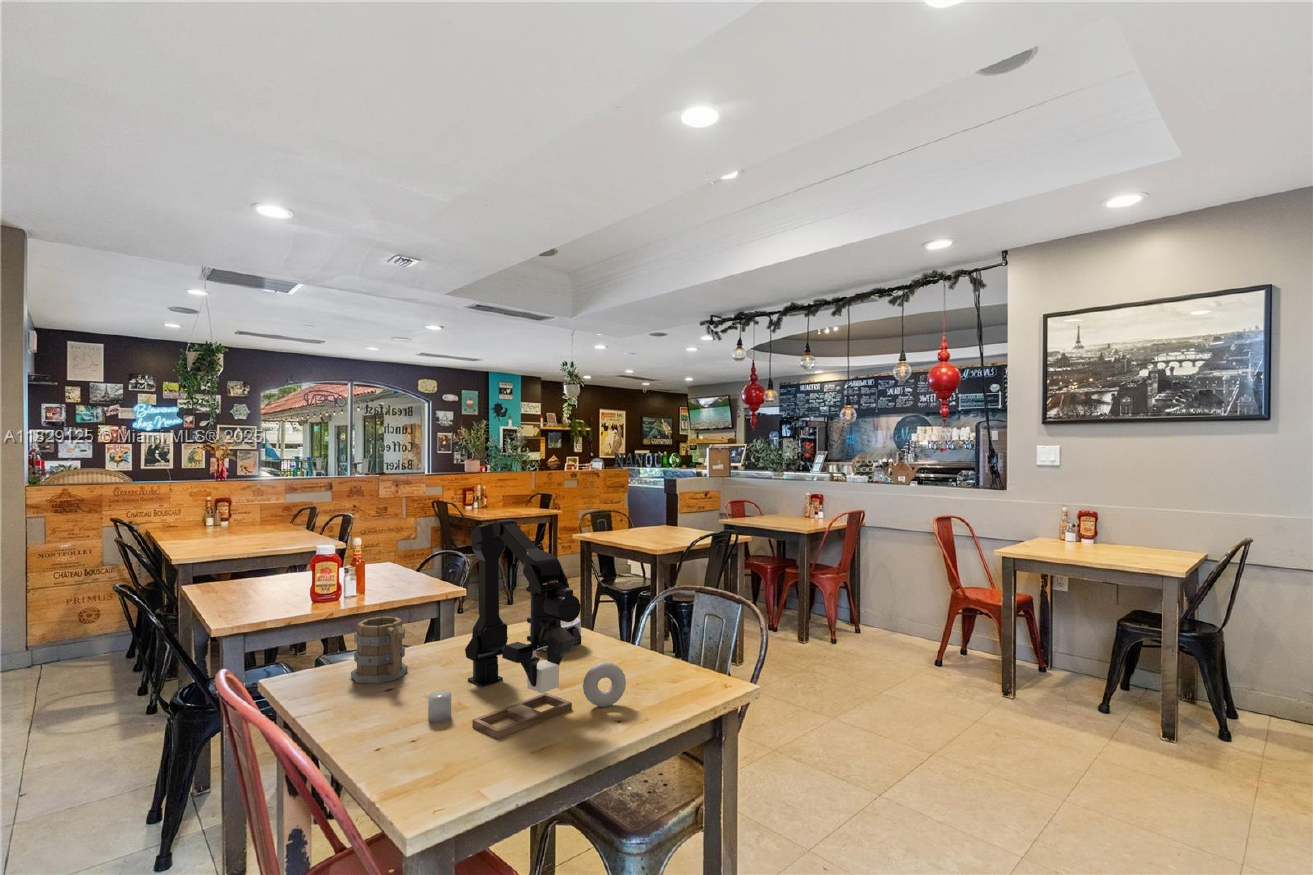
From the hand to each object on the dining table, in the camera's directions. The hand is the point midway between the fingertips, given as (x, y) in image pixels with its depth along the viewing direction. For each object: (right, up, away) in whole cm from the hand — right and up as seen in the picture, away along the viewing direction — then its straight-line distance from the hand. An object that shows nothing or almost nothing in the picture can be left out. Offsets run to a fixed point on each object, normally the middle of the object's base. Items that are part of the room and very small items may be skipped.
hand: (543, 683), depth 147 cm
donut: (+14, -6, +2) cm, 15 cm away
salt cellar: (-22, -6, -4) cm, 23 cm away
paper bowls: (-4, -7, +47) cm, 47 cm away
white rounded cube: (0, -1, 0) cm, 1 cm away
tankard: (-44, -7, +20) cm, 49 cm away
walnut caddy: (-3, -6, -4) cm, 8 cm away
